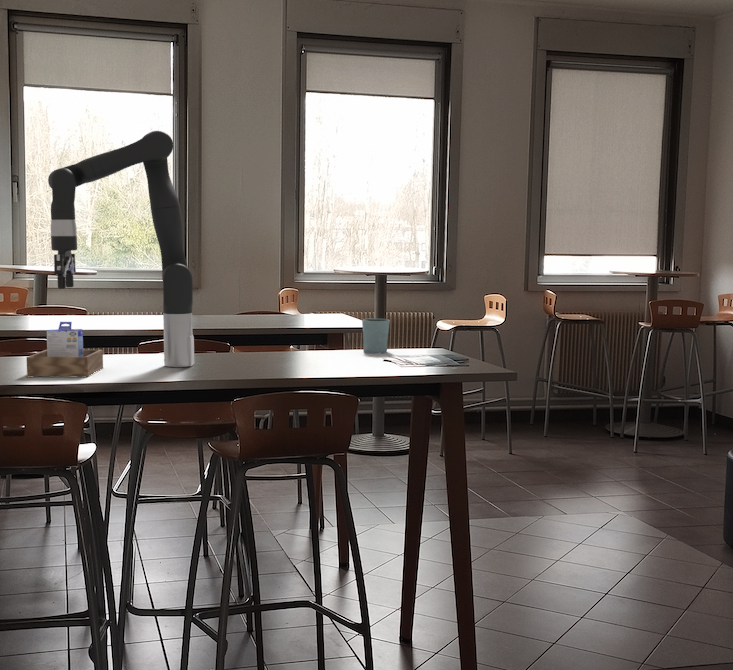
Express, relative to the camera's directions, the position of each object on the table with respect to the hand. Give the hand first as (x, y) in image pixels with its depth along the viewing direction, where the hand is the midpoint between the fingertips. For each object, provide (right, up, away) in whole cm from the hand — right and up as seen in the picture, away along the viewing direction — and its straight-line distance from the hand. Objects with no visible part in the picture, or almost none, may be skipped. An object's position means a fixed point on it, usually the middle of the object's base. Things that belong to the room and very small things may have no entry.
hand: (65, 287), depth 280 cm
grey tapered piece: (+96, -21, +55) cm, 112 cm away
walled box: (0, -26, +2) cm, 26 cm away
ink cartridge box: (0, -25, +1) cm, 25 cm away
